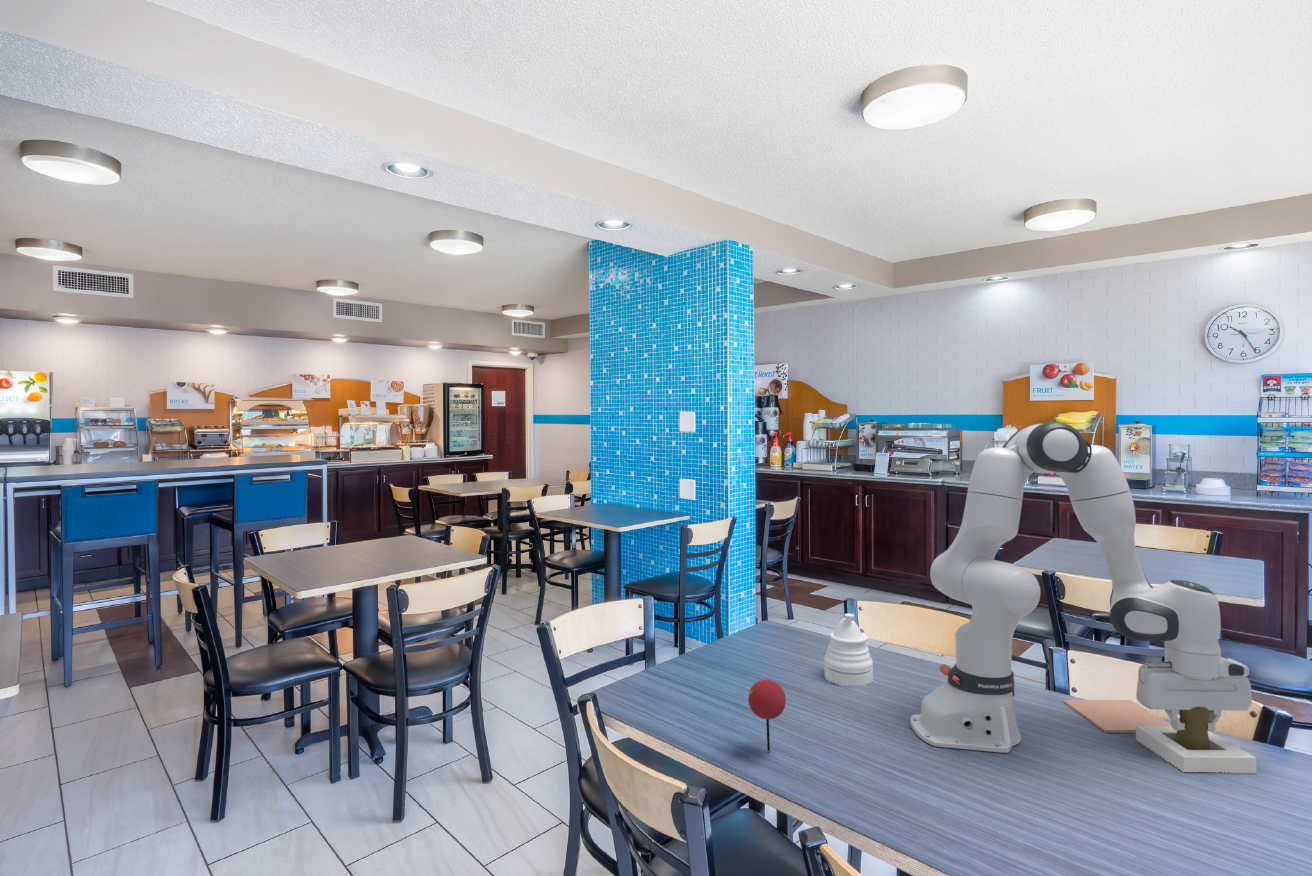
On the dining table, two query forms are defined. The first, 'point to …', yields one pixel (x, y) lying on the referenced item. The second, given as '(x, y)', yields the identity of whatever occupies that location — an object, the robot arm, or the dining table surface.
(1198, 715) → the olive pawn
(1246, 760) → the frame
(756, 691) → the lollipop
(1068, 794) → the dining table surface
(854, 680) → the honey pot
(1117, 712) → the terracotta tile
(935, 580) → the robot arm
